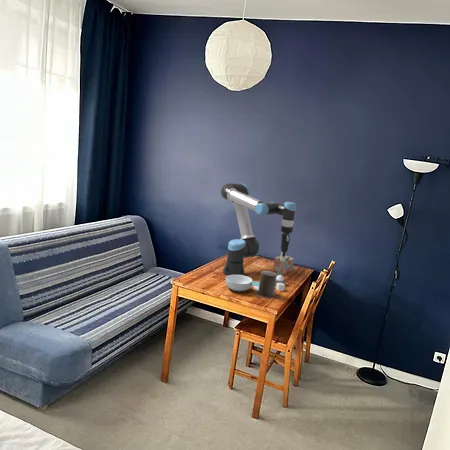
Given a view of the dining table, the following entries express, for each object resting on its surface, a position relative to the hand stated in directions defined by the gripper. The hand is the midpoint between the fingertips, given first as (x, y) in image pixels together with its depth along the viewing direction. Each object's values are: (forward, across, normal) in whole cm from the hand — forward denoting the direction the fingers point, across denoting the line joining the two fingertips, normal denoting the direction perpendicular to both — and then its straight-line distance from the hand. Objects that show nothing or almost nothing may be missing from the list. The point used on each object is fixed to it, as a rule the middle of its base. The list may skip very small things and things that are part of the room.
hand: (282, 260), depth 275 cm
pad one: (+16, -12, +15) cm, 25 cm away
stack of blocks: (+17, +29, -10) cm, 35 cm away
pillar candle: (+17, -21, +13) cm, 30 cm away
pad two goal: (+16, -3, +16) cm, 23 cm away
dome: (+15, 0, 0) cm, 15 cm away
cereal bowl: (+17, -16, +30) cm, 38 cm away
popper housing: (+16, 0, 0) cm, 16 cm away
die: (+16, -11, +2) cm, 20 cm away
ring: (+16, -21, +13) cm, 30 cm away
